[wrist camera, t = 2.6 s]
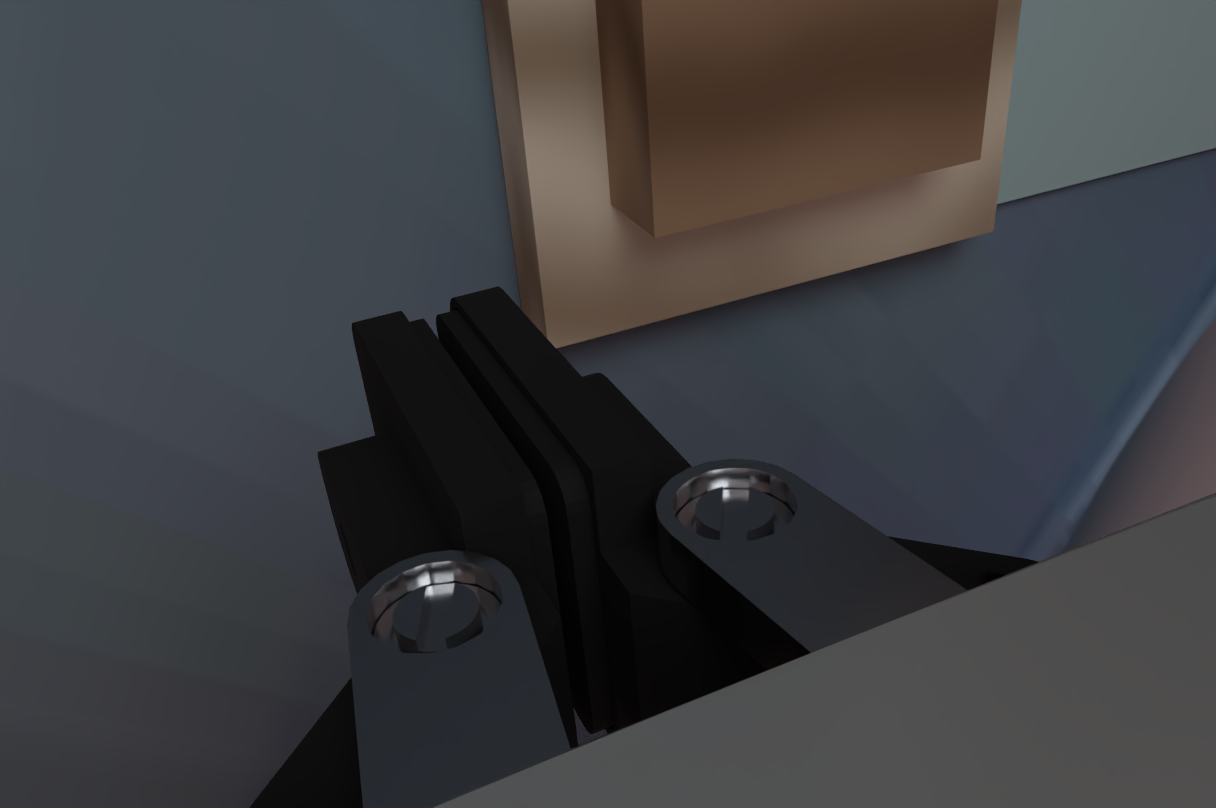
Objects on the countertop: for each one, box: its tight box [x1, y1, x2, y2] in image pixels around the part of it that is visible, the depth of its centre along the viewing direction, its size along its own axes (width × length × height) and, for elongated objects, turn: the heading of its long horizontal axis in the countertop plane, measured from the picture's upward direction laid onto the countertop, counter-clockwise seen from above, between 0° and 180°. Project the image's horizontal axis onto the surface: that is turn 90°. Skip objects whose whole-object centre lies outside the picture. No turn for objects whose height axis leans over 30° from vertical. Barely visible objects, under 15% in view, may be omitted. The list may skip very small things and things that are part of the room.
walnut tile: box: [595, 0, 998, 238], centre depth 25 cm, size 7×9×2 cm
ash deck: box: [482, 0, 1022, 348], centre depth 27 cm, size 14×14×2 cm
